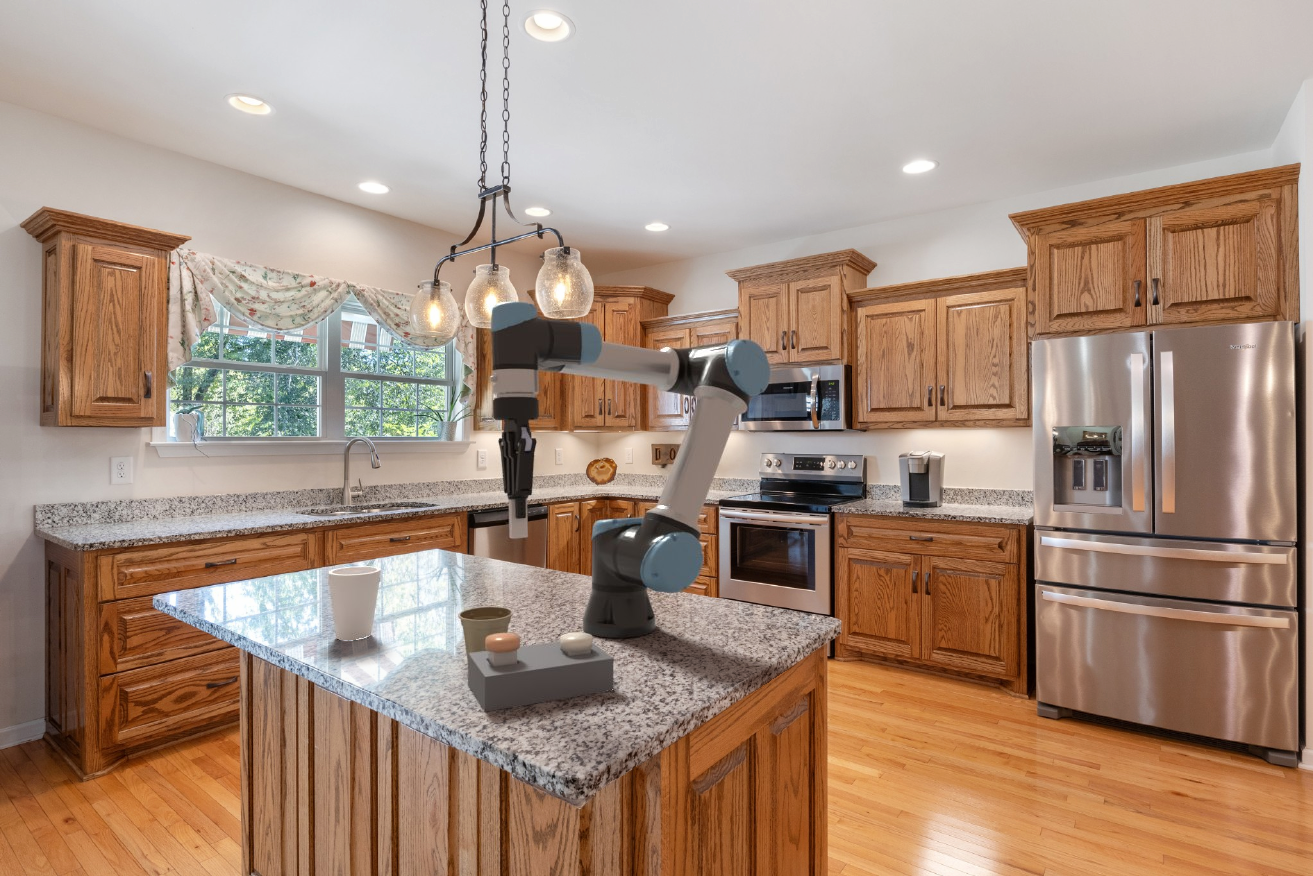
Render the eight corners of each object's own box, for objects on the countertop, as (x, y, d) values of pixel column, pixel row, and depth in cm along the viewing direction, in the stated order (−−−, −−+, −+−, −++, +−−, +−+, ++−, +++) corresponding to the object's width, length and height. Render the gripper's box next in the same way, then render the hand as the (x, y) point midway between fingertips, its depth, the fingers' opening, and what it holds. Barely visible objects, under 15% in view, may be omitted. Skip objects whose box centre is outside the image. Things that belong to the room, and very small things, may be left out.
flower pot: (484, 674, 112) (485, 622, 112) (445, 664, 117) (446, 614, 117) (523, 659, 120) (524, 611, 120) (486, 650, 125) (486, 604, 125)
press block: (585, 667, 116) (586, 638, 116) (613, 690, 106) (613, 658, 106) (467, 684, 107) (468, 653, 107) (484, 711, 97) (485, 676, 97)
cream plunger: (585, 672, 113) (585, 630, 113) (596, 682, 108) (597, 639, 108) (555, 676, 110) (556, 634, 110) (565, 687, 106) (566, 643, 106)
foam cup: (338, 630, 137) (339, 566, 137) (385, 629, 138) (386, 566, 138) (319, 644, 128) (320, 575, 128) (369, 643, 128) (370, 575, 128)
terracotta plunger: (514, 674, 107) (515, 631, 107) (523, 685, 103) (524, 640, 103) (481, 679, 105) (482, 635, 105) (489, 690, 100) (489, 644, 100)
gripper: (482, 398, 116) (485, 534, 117) (505, 394, 105) (508, 545, 105) (524, 398, 120) (527, 530, 120) (550, 394, 109) (553, 540, 109)
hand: (518, 537), depth 113 cm, fingers closed
